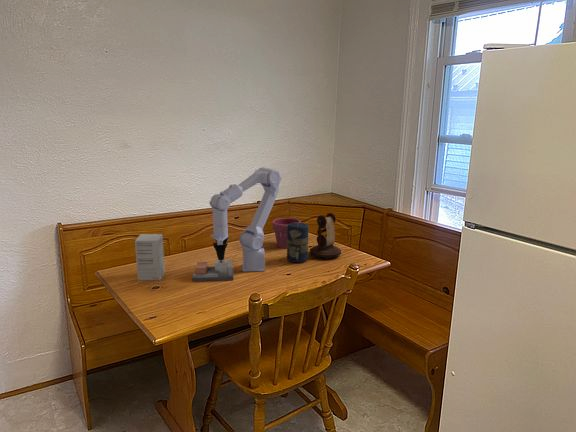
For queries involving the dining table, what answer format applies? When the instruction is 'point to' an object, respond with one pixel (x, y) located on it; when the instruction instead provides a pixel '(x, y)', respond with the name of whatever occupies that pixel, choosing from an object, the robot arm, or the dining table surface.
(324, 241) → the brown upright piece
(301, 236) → the canister
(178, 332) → the dining table surface
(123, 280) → the dining table surface
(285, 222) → the plant pot
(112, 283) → the dining table surface
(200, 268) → the tall terracotta prism
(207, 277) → the press bed
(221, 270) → the housing
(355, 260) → the dining table surface
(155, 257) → the supplement box
